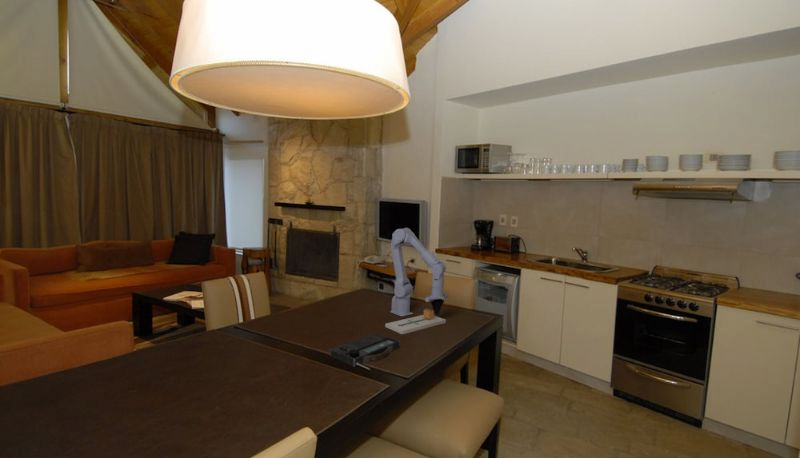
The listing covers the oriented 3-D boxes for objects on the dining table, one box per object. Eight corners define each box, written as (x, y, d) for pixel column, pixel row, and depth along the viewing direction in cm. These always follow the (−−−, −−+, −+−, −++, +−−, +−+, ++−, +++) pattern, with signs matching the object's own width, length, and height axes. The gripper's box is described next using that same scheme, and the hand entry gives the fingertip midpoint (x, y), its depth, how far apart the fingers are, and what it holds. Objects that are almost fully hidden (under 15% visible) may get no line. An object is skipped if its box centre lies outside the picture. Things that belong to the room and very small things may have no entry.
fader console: (385, 326, 187) (385, 323, 187) (428, 316, 205) (428, 313, 205) (402, 334, 178) (402, 330, 178) (445, 322, 196) (445, 319, 196)
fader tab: (423, 317, 197) (423, 308, 197) (427, 315, 199) (428, 307, 199) (429, 319, 194) (429, 310, 194) (433, 318, 196) (433, 309, 196)
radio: (376, 330, 171) (413, 342, 158) (375, 340, 171) (412, 353, 158) (330, 346, 152) (367, 362, 139) (329, 357, 152) (367, 373, 139)
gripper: (433, 290, 191) (431, 318, 192) (453, 286, 200) (452, 313, 202) (422, 287, 196) (421, 314, 198) (443, 284, 206) (442, 310, 207)
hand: (436, 314), depth 200 cm, fingers closed
